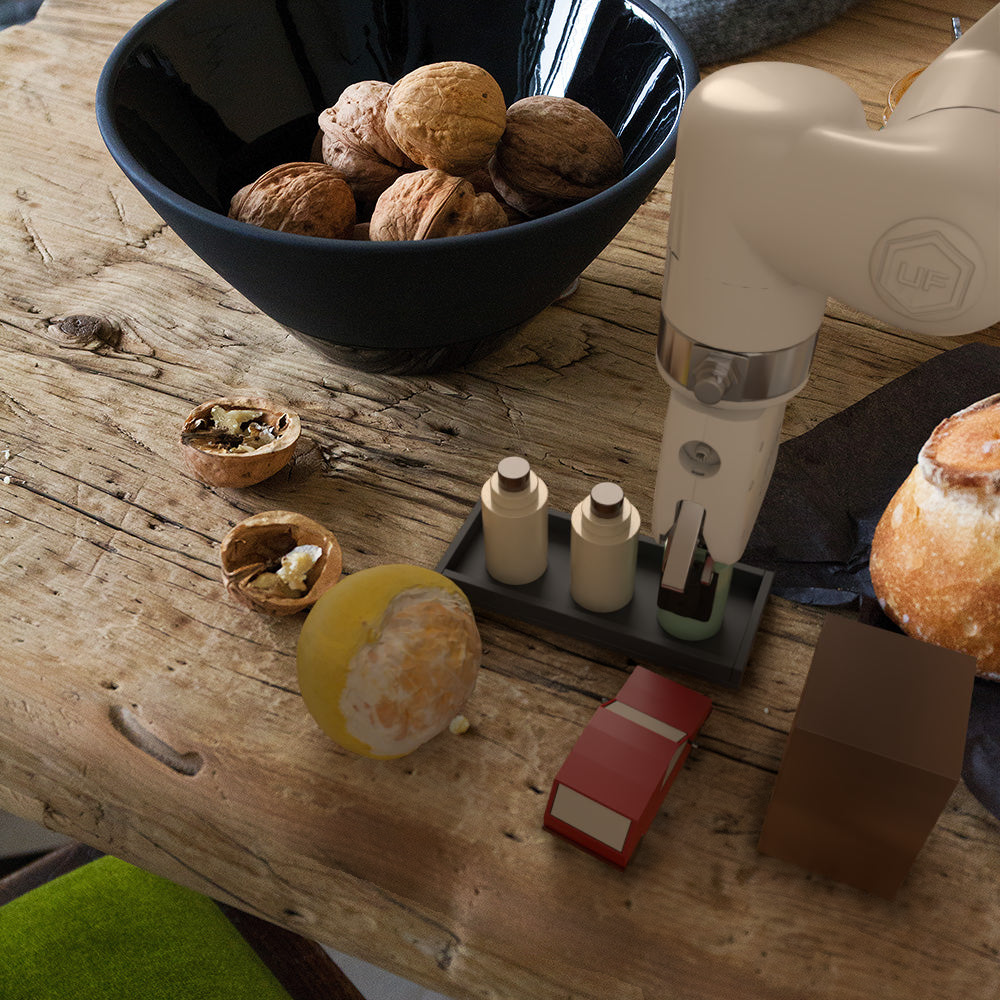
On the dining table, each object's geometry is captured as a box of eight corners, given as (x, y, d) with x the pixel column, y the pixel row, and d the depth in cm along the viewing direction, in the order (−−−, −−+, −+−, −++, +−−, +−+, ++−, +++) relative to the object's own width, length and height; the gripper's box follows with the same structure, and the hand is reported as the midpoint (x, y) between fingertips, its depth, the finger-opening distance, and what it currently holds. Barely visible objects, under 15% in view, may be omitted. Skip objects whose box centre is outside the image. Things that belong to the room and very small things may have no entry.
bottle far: (557, 548, 69) (558, 454, 63) (533, 593, 66) (532, 499, 60) (500, 531, 70) (496, 437, 64) (474, 574, 68) (467, 480, 62)
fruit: (281, 761, 59) (245, 658, 52) (361, 620, 66) (339, 512, 59) (445, 815, 56) (431, 713, 49) (511, 662, 63) (506, 554, 56)
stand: (912, 786, 57) (977, 656, 48) (892, 901, 52) (960, 781, 44) (785, 743, 59) (826, 612, 50) (756, 850, 54) (794, 726, 46)
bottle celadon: (731, 600, 66) (750, 505, 59) (713, 649, 63) (731, 556, 57) (667, 581, 67) (679, 486, 61) (647, 628, 64) (658, 535, 58)
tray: (770, 593, 67) (775, 572, 65) (737, 692, 61) (742, 671, 60) (486, 510, 73) (484, 489, 71) (434, 593, 68) (432, 572, 66)
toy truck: (717, 725, 60) (730, 675, 56) (629, 891, 53) (638, 847, 49) (627, 682, 62) (634, 631, 58) (531, 836, 55) (533, 790, 52)
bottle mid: (642, 573, 67) (652, 479, 61) (621, 620, 65) (629, 527, 59) (582, 555, 69) (586, 461, 62) (559, 601, 66) (561, 507, 60)
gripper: (772, 469, 43) (718, 711, 56) (847, 264, 54) (787, 507, 67) (603, 425, 45) (589, 668, 58) (707, 236, 56) (676, 477, 69)
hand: (695, 580), depth 62 cm, fingers closed on bottle celadon, 4 cm apart
